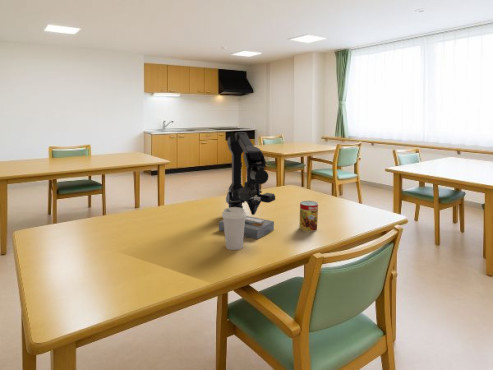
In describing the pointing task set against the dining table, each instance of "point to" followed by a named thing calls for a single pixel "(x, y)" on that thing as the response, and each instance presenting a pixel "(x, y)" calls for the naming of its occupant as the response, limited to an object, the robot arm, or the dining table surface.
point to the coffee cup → (234, 227)
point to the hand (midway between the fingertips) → (253, 214)
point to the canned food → (308, 216)
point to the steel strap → (254, 220)
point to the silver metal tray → (254, 228)
